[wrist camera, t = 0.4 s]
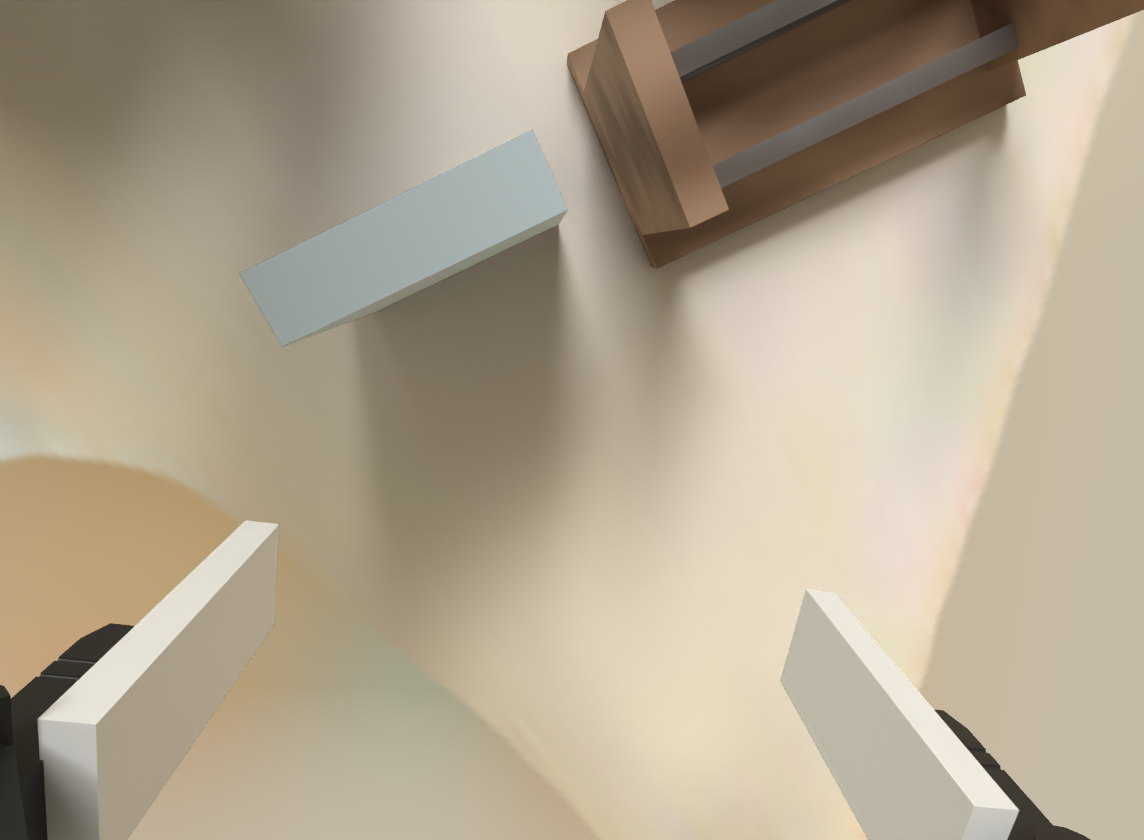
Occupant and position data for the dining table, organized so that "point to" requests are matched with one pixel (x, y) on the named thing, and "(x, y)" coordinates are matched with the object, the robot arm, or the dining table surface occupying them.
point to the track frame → (793, 95)
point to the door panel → (409, 242)
